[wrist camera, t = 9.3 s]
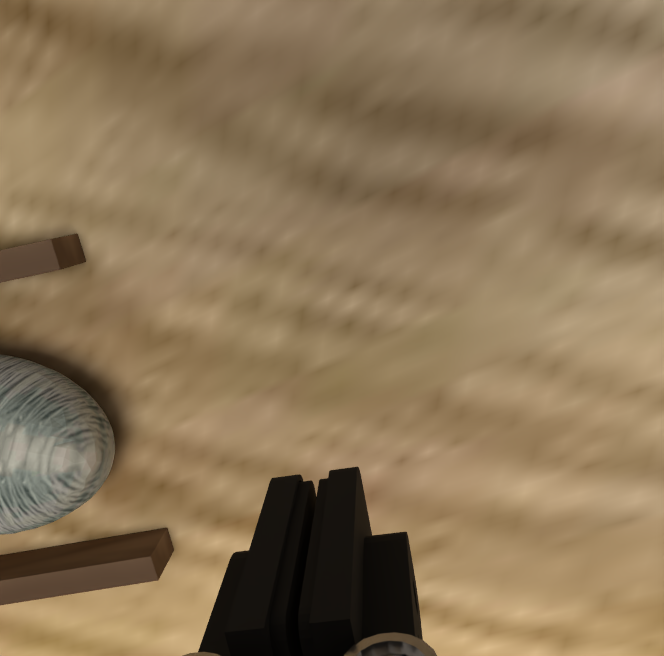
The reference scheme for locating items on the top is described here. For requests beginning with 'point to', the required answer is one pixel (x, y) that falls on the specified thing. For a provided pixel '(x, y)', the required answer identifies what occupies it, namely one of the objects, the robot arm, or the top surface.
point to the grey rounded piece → (47, 445)
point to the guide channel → (84, 557)
